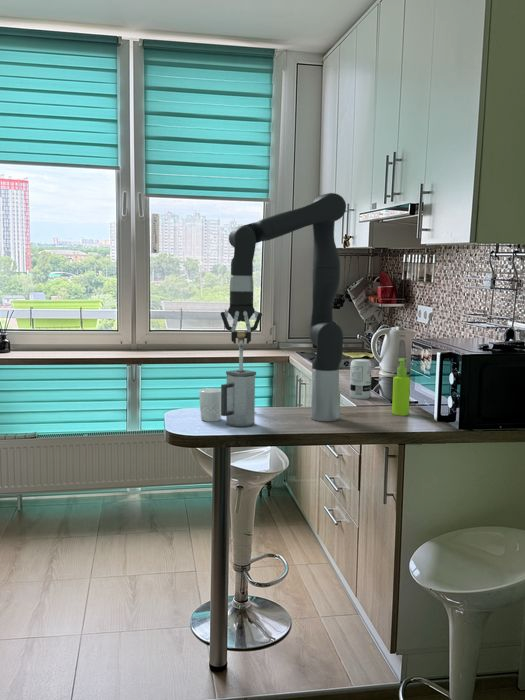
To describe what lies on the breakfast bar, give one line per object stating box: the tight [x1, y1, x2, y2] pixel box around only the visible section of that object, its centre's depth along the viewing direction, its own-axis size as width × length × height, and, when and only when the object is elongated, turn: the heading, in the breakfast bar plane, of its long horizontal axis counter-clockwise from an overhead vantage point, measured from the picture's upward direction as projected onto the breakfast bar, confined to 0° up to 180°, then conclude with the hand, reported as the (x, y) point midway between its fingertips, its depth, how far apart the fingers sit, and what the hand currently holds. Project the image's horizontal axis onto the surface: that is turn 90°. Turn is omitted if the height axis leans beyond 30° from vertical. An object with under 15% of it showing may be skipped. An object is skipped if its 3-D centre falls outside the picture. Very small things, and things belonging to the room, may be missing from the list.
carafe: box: [220, 369, 257, 429], centre depth 217 cm, size 14×9×18 cm
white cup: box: [198, 387, 222, 422], centre depth 225 cm, size 8×8×10 cm
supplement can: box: [349, 358, 373, 400], centre depth 266 cm, size 8×8×15 cm
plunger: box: [235, 330, 247, 372], centre depth 216 cm, size 4×4×20 cm
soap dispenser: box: [391, 357, 411, 417], centre depth 236 cm, size 6×7×20 cm
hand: (241, 343), depth 215 cm, fingers closed on plunger, 3 cm apart
